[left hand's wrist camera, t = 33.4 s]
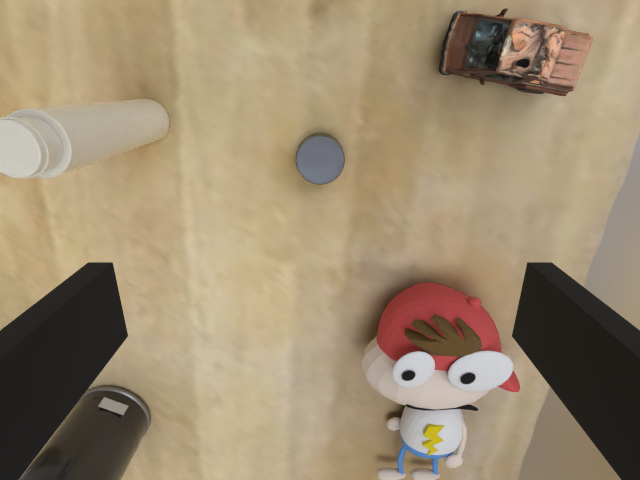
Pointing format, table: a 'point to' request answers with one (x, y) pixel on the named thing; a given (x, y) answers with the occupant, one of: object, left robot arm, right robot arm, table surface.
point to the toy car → (514, 52)
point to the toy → (434, 370)
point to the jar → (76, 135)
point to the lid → (320, 158)
